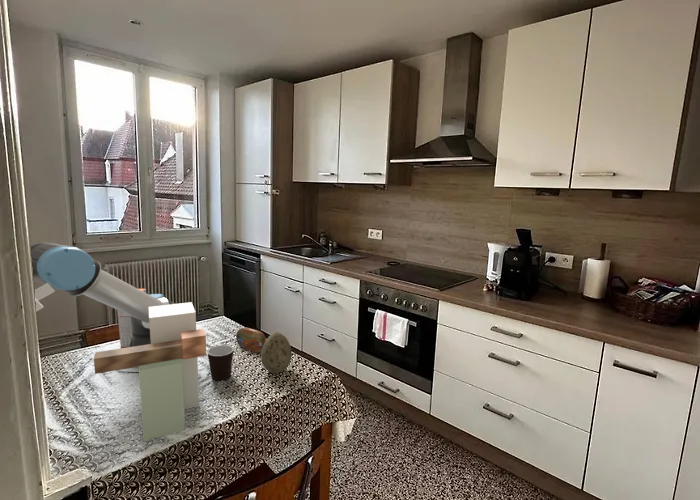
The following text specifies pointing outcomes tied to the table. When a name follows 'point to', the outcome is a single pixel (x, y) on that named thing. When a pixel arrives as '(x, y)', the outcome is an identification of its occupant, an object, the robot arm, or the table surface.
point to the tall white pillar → (168, 328)
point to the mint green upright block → (162, 398)
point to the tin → (250, 339)
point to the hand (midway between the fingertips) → (45, 294)
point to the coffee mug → (220, 362)
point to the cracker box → (125, 327)
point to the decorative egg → (276, 353)
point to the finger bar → (152, 352)
